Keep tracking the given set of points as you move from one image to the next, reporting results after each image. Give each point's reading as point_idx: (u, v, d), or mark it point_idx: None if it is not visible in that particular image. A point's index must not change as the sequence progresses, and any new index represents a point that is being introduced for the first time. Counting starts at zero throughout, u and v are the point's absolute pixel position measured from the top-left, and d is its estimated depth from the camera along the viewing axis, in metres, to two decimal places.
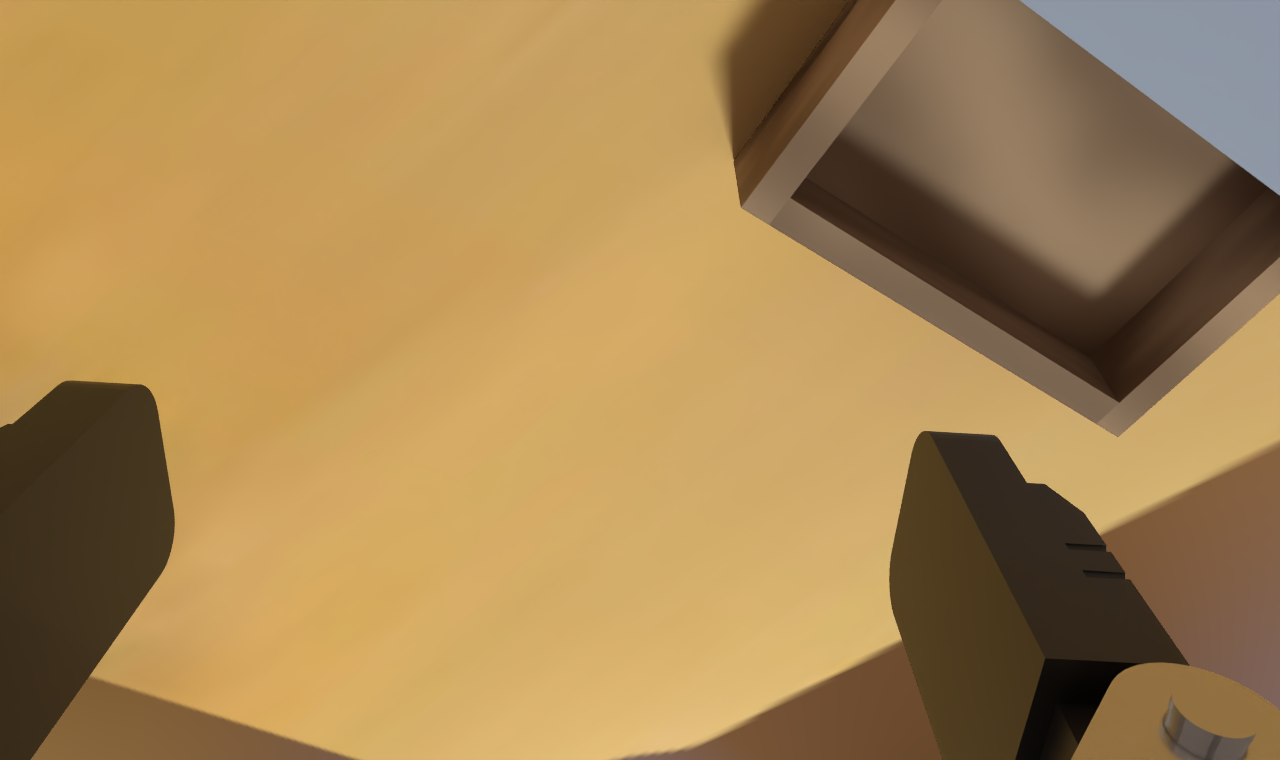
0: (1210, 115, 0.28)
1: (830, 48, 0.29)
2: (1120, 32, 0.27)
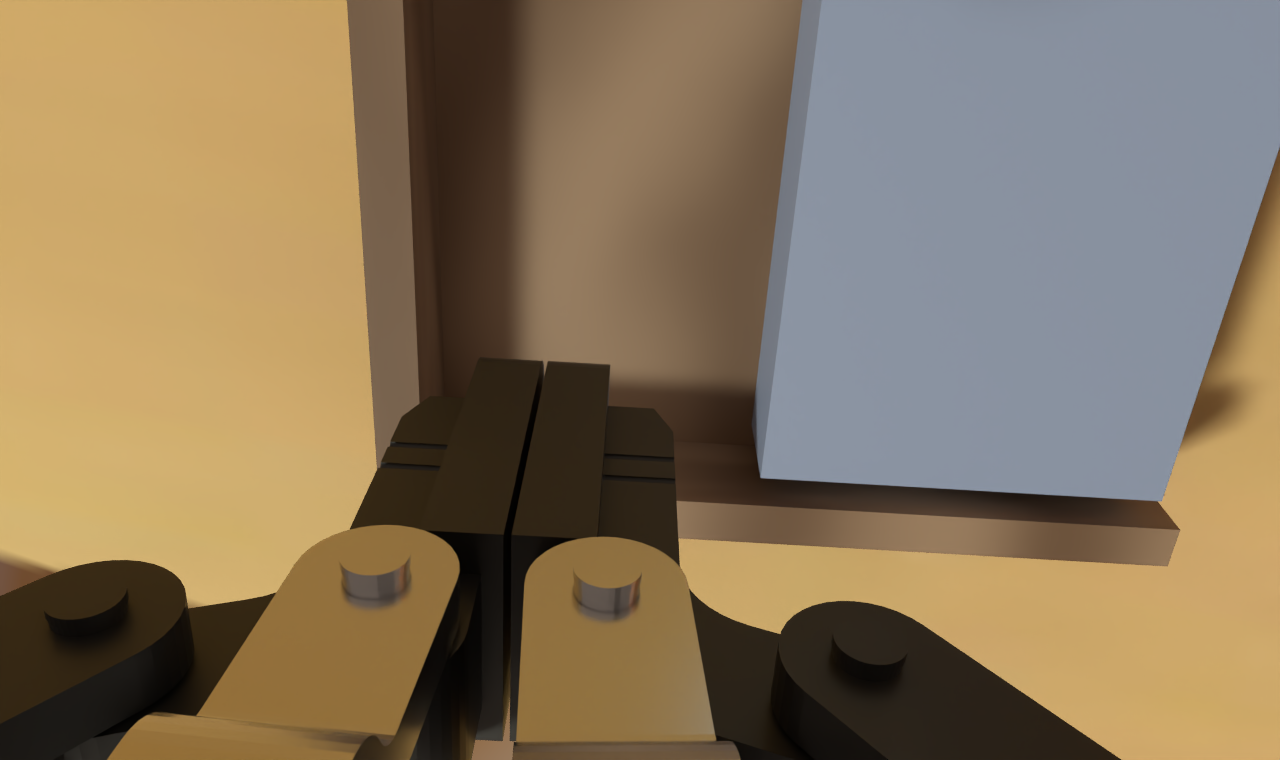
0: (810, 298, 0.21)
1: None
2: (850, 113, 0.19)
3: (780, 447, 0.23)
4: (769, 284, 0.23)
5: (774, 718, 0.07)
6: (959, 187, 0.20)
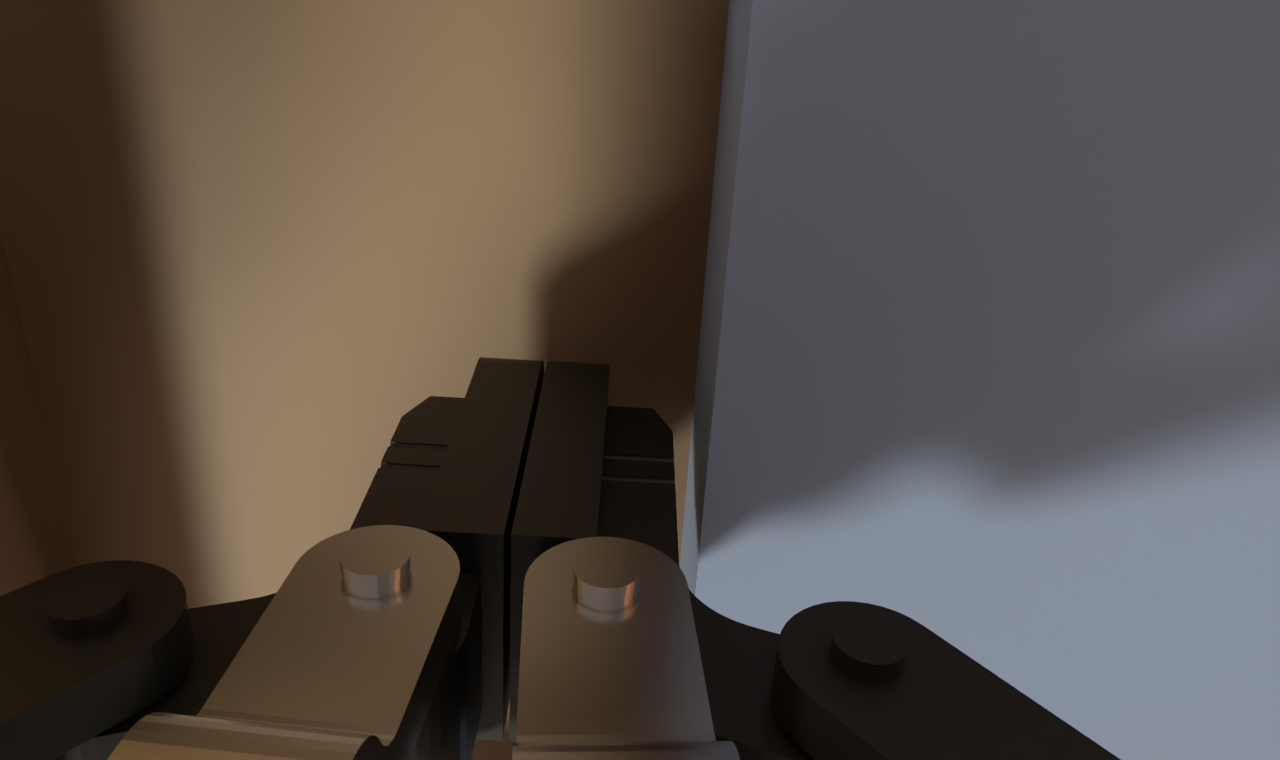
0: None
1: None
2: (804, 360, 0.10)
3: None
4: None
5: (774, 718, 0.07)
6: (1021, 489, 0.10)
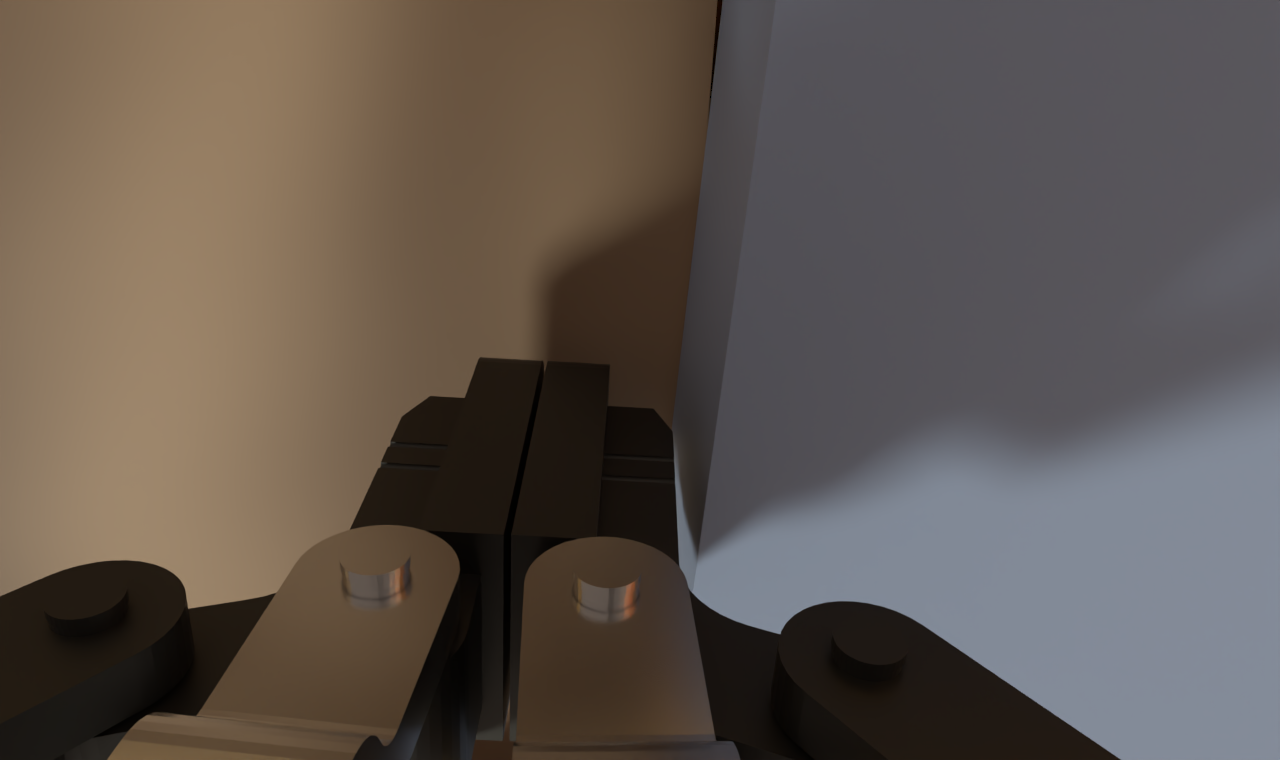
0: None
1: None
2: (807, 377, 0.10)
3: None
4: None
5: (774, 718, 0.07)
6: (1006, 498, 0.11)
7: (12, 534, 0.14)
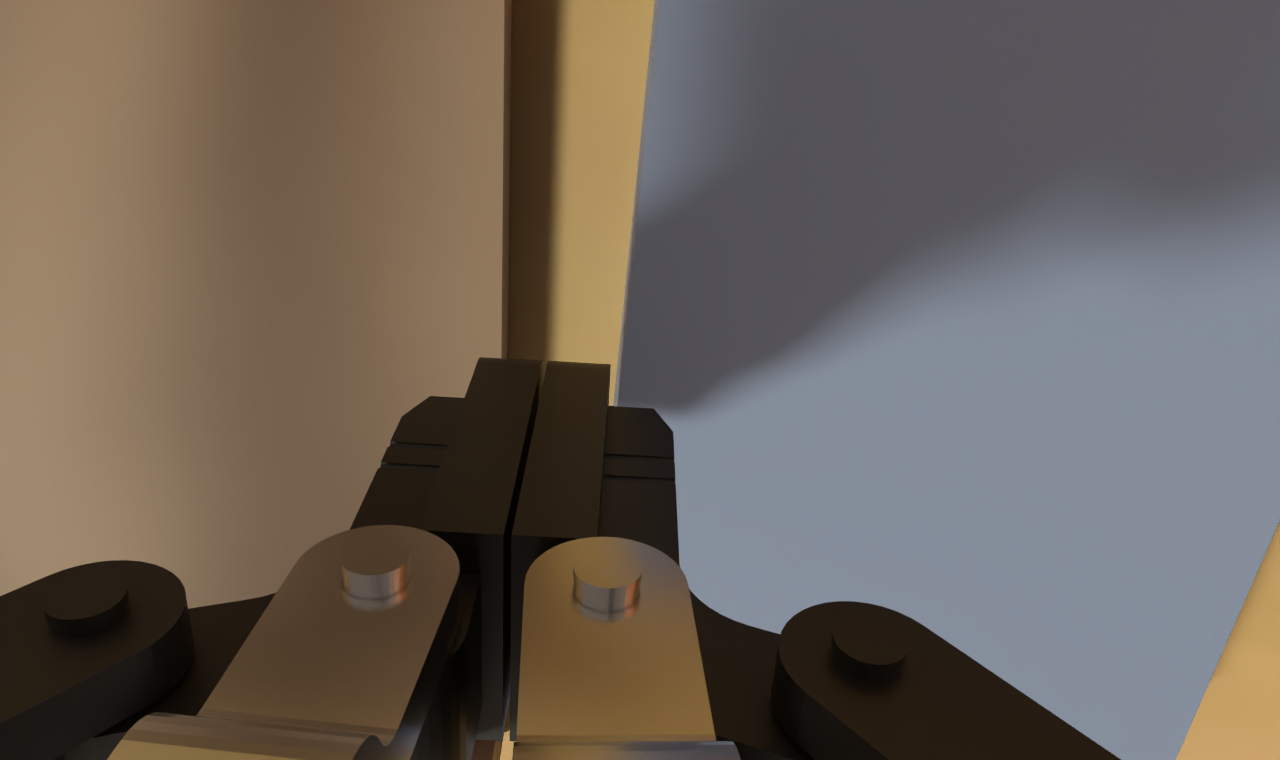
0: None
1: None
2: (698, 282, 0.12)
3: None
4: None
5: (774, 718, 0.07)
6: (868, 395, 0.13)
7: None
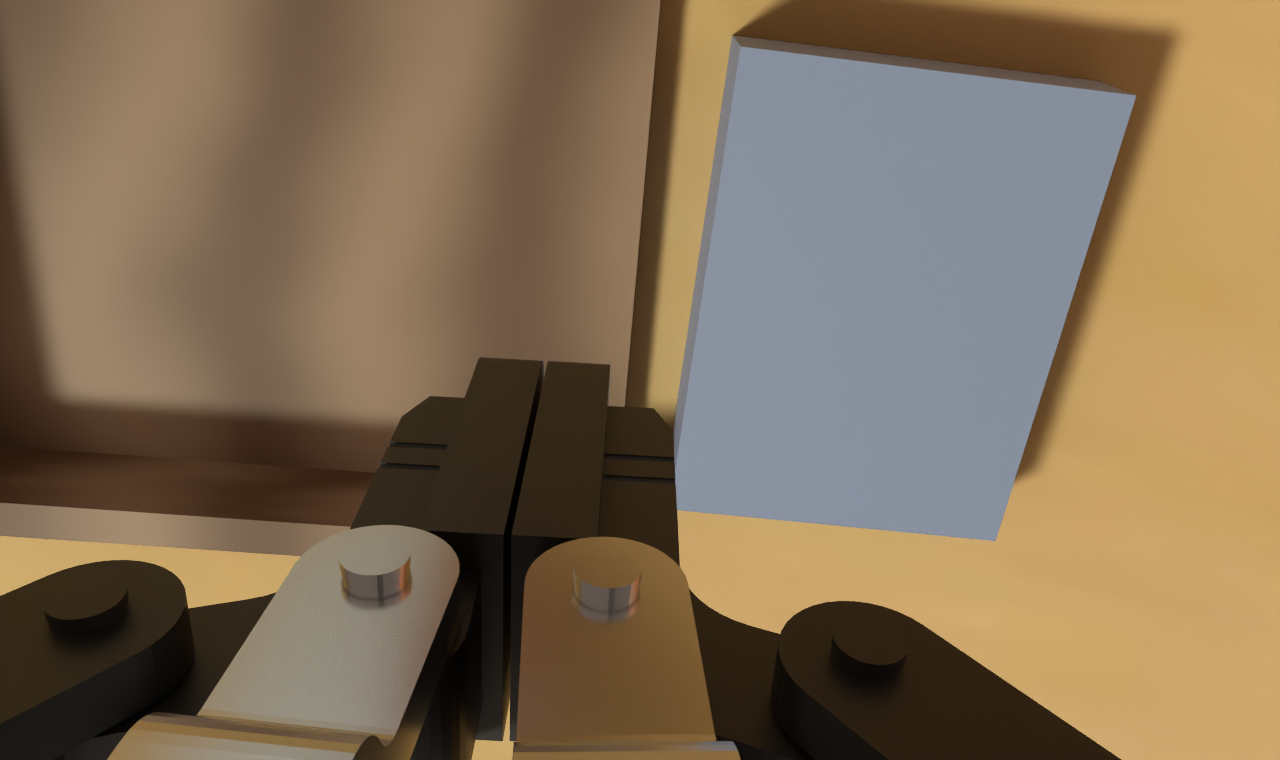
0: (713, 365, 0.26)
1: None
2: (748, 222, 0.24)
3: (686, 484, 0.27)
4: None
5: (774, 718, 0.07)
6: (833, 283, 0.25)
7: (292, 319, 0.27)
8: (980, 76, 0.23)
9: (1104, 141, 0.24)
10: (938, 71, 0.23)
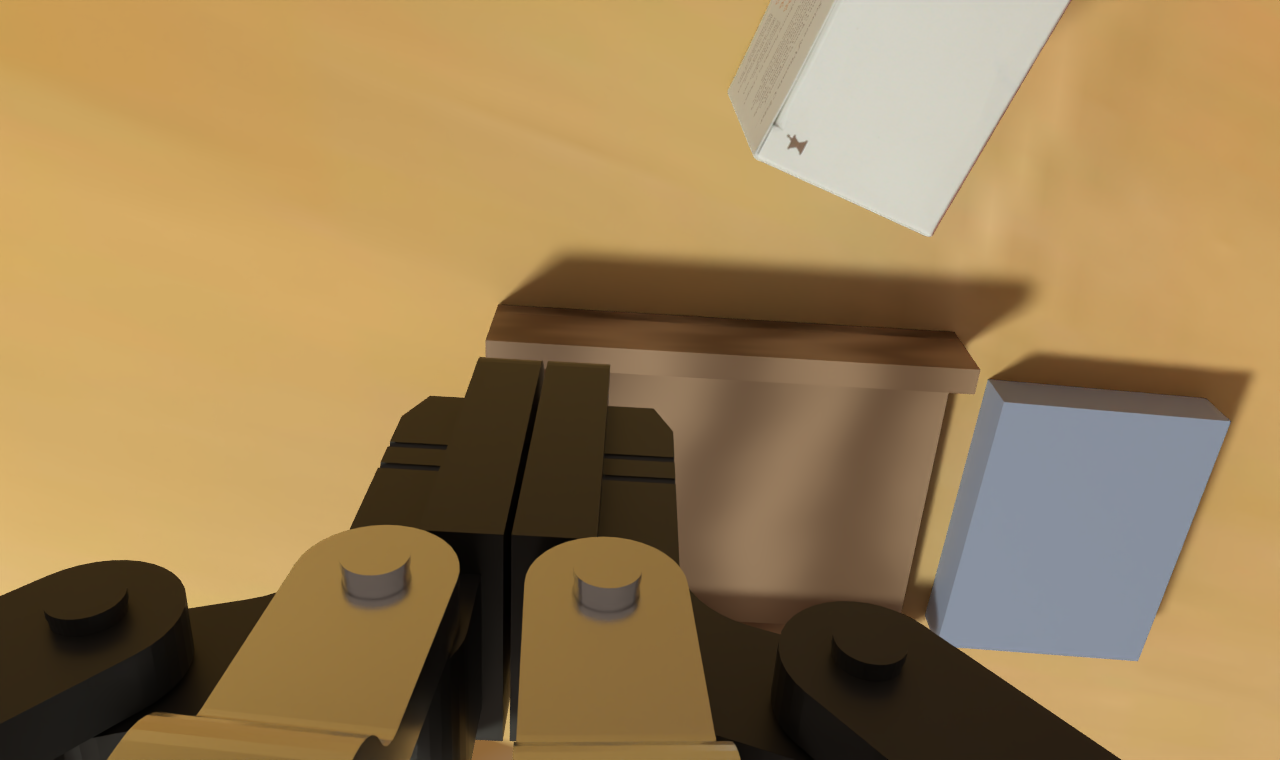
0: (971, 565, 0.43)
1: (615, 324, 0.39)
2: (1000, 489, 0.41)
3: (948, 631, 0.45)
4: None
5: (775, 718, 0.07)
6: (1048, 520, 0.42)
7: (712, 537, 0.44)
8: (1140, 413, 0.40)
9: (1211, 444, 0.41)
10: (1116, 411, 0.40)
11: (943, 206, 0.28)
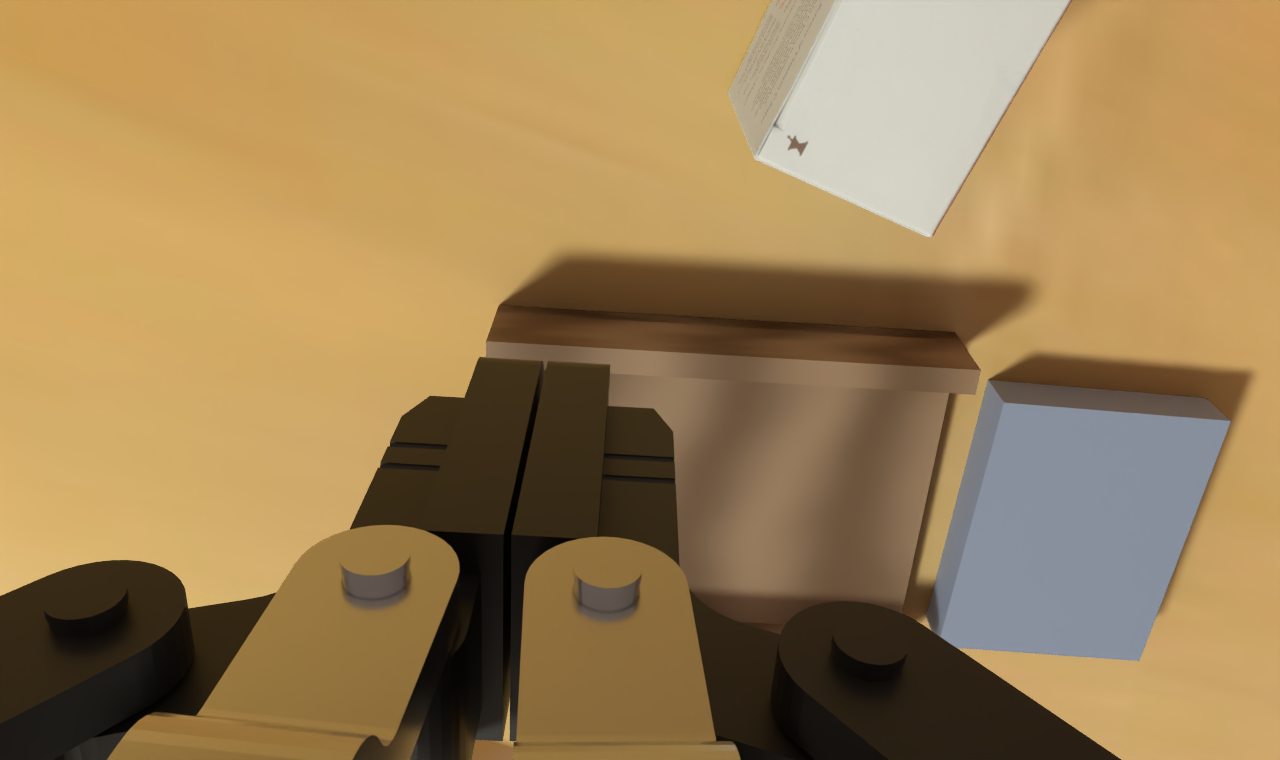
0: (972, 566, 0.43)
1: (616, 325, 0.39)
2: (1000, 490, 0.41)
3: (949, 632, 0.45)
4: None
5: (775, 718, 0.07)
6: (1048, 521, 0.42)
7: (712, 538, 0.44)
8: (1140, 413, 0.40)
9: (1212, 444, 0.41)
10: (1116, 411, 0.40)
11: (944, 206, 0.28)
